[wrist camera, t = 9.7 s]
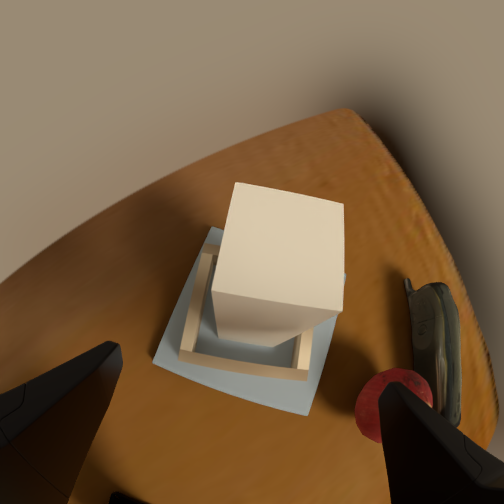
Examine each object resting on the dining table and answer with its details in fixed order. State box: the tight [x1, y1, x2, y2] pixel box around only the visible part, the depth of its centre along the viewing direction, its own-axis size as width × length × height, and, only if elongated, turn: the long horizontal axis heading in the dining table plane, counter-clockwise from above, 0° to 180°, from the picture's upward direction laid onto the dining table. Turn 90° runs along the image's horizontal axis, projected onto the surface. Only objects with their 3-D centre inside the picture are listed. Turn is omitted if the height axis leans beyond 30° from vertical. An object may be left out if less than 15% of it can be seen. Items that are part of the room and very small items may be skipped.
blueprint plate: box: [152, 226, 346, 416], centre depth 21 cm, size 12×12×1 cm
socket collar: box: [178, 243, 314, 381], centre depth 19 cm, size 9×9×2 cm
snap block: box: [211, 182, 344, 347], centre depth 14 cm, size 4×4×12 cm
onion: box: [354, 368, 433, 443], centre depth 15 cm, size 6×6×8 cm
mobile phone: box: [404, 278, 462, 427], centre depth 19 cm, size 5×3×15 cm
